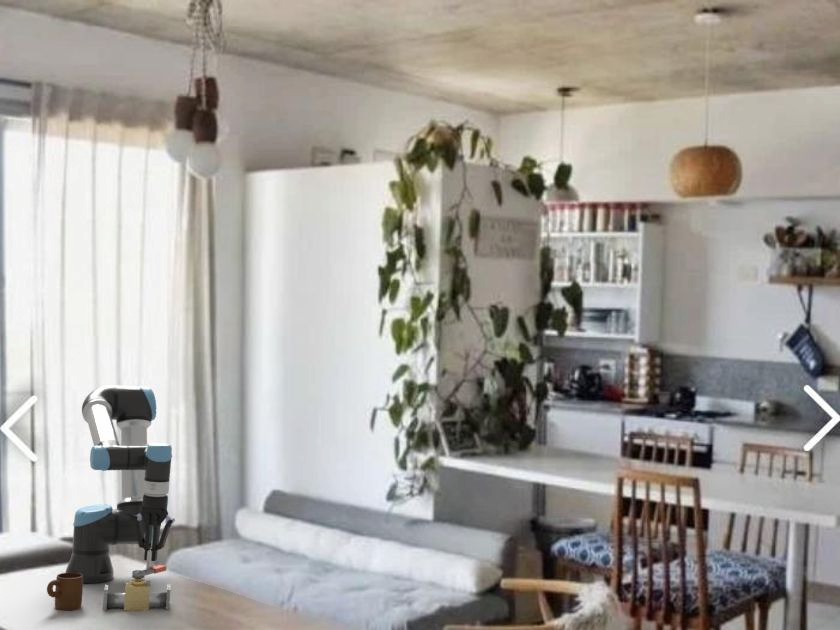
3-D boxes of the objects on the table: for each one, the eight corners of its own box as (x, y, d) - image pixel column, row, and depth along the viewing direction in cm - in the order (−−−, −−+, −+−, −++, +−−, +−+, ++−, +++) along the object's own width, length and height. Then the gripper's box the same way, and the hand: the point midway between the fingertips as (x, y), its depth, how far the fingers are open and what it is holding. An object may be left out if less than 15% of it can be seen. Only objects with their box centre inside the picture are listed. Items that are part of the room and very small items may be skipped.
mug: (55, 615, 297) (57, 582, 297) (36, 611, 301) (38, 578, 301) (87, 606, 308) (89, 575, 308) (68, 602, 312) (70, 570, 312)
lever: (158, 569, 321) (158, 564, 321) (167, 571, 320) (167, 565, 320) (129, 577, 310) (129, 571, 310) (138, 579, 308) (139, 573, 308)
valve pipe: (104, 602, 313) (106, 573, 313) (170, 602, 318) (172, 573, 318) (102, 610, 305) (104, 581, 305) (171, 610, 309) (172, 581, 309)
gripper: (131, 494, 315) (124, 571, 315) (171, 498, 314) (165, 576, 314) (140, 490, 323) (134, 566, 323) (180, 494, 321) (173, 570, 321)
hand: (149, 571), depth 318 cm, fingers closed
